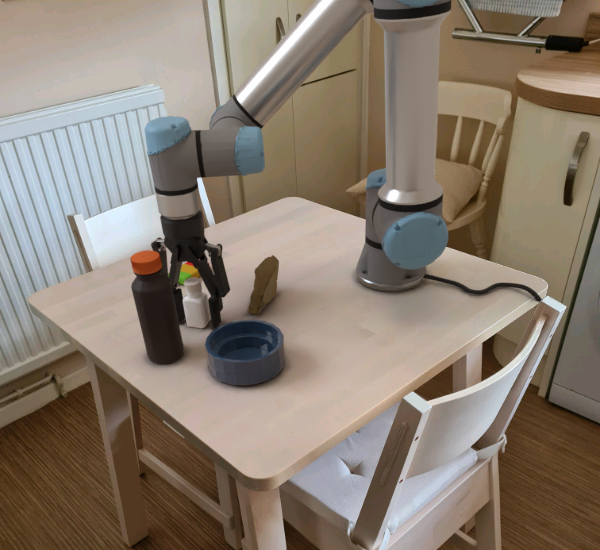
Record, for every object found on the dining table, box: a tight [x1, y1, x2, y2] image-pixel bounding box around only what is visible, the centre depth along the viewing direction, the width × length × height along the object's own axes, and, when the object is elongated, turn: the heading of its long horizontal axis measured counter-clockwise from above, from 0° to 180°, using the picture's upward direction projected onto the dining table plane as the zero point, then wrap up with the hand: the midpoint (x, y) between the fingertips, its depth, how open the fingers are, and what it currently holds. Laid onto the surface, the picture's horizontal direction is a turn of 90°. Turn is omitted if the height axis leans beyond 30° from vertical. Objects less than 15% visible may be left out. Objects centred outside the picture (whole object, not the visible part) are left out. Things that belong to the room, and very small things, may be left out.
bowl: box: [204, 318, 286, 386], centre depth 111 cm, size 14×14×6 cm
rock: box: [247, 255, 280, 316], centre depth 128 cm, size 11×9×10 cm
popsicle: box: [168, 259, 211, 286], centre depth 139 cm, size 6×15×2 cm, turn 147°
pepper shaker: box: [183, 277, 211, 329], centre depth 122 cm, size 4×4×10 cm
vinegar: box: [129, 249, 185, 365], centre depth 110 cm, size 7×7×20 cm
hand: (199, 322), depth 124 cm, fingers open, 7 cm apart
